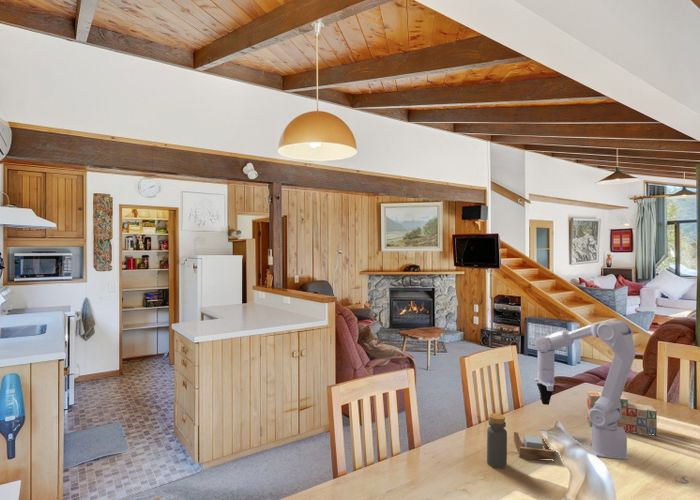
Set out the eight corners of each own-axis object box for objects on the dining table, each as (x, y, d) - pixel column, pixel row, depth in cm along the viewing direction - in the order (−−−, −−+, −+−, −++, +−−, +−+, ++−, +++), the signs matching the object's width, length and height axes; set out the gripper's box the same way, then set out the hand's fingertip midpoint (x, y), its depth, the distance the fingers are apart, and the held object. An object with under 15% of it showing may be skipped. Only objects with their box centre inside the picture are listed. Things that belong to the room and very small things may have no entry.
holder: (545, 444, 144) (545, 434, 144) (554, 461, 132) (555, 451, 132) (513, 440, 146) (514, 431, 146) (519, 457, 134) (520, 447, 134)
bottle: (497, 470, 126) (497, 421, 126) (482, 461, 131) (483, 414, 131) (510, 466, 129) (511, 417, 129) (496, 457, 134) (496, 411, 134)
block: (539, 448, 141) (539, 437, 141) (542, 455, 136) (543, 443, 136) (523, 447, 142) (523, 435, 142) (526, 454, 137) (526, 441, 137)
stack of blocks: (651, 430, 157) (652, 397, 157) (656, 437, 151) (657, 403, 151) (587, 420, 165) (587, 389, 165) (589, 427, 159) (590, 394, 159)
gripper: (530, 362, 164) (530, 396, 164) (538, 372, 150) (538, 410, 150) (549, 363, 163) (549, 398, 163) (559, 374, 149) (559, 412, 149)
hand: (545, 404), depth 156 cm, fingers closed
